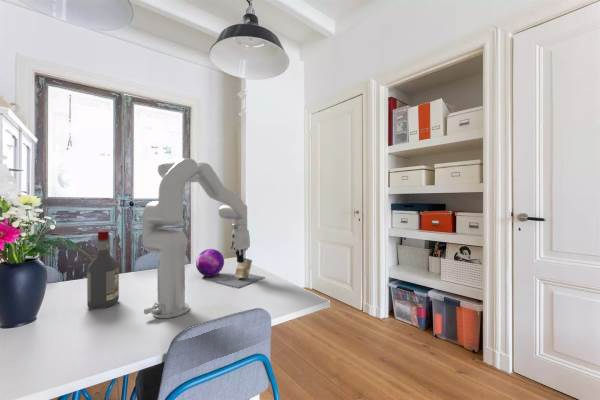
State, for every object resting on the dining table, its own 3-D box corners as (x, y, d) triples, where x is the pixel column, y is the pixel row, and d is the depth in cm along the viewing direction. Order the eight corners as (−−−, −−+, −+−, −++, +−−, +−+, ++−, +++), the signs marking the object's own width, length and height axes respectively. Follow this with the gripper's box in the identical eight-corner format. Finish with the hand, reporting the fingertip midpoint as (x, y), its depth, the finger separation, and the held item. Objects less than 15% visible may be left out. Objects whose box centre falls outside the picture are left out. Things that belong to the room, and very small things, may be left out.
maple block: (241, 277, 140) (246, 258, 143) (234, 276, 142) (239, 257, 145) (247, 278, 144) (252, 260, 147) (240, 277, 146) (245, 259, 149)
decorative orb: (229, 274, 154) (229, 248, 154) (208, 281, 141) (208, 252, 141) (212, 270, 162) (212, 245, 162) (190, 276, 149) (190, 249, 149)
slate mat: (238, 288, 130) (238, 287, 130) (215, 282, 139) (215, 281, 139) (264, 278, 147) (264, 277, 147) (243, 273, 156) (243, 272, 156)
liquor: (84, 310, 105) (84, 233, 105) (95, 301, 114) (95, 230, 113) (111, 307, 107) (111, 232, 107) (120, 299, 116) (120, 230, 116)
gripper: (234, 229, 134) (234, 266, 134) (255, 226, 147) (255, 260, 147) (224, 228, 138) (224, 264, 138) (244, 226, 151) (245, 258, 151)
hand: (240, 262), depth 142 cm, fingers closed
